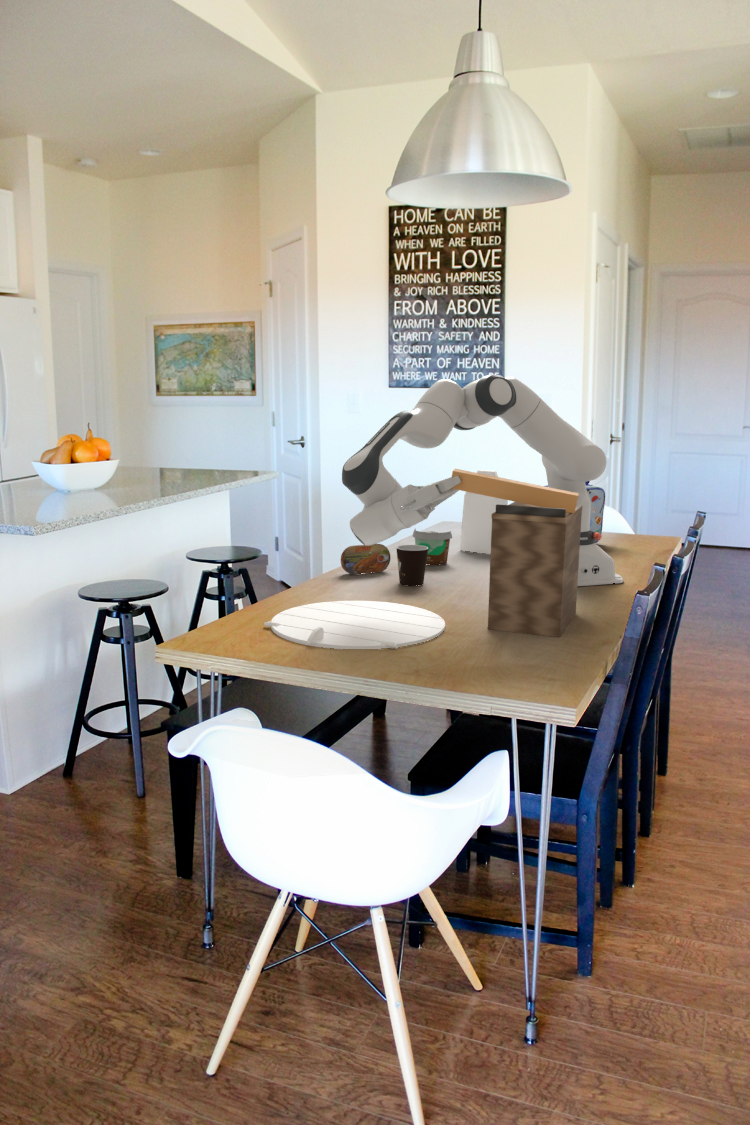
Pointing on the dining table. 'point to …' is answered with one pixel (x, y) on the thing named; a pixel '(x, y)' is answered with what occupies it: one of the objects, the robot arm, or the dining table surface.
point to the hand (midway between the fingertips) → (463, 477)
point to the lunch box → (595, 507)
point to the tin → (365, 558)
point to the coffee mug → (411, 564)
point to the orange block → (515, 490)
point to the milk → (478, 520)
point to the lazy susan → (357, 625)
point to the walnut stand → (533, 568)
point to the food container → (434, 545)
